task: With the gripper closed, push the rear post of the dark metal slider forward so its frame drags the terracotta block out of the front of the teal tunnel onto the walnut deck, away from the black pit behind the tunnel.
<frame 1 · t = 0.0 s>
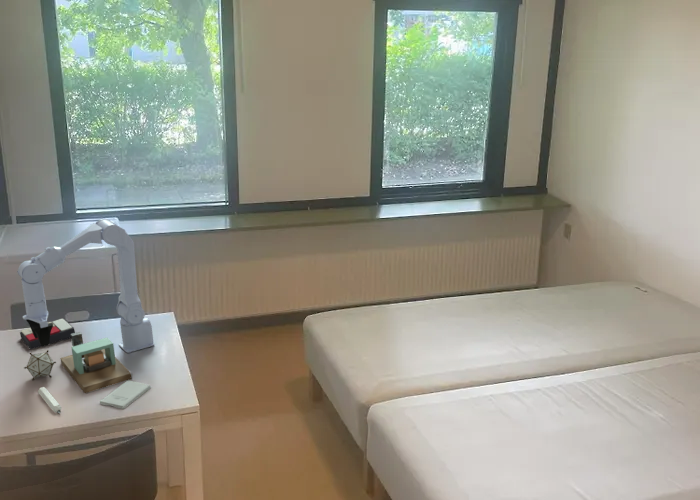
hand: (41, 341, 207), 10 cm above the table, tool pointing down, fingers open, 7 cm apart
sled: (86, 350, 214), point 4 cm above the table, slide at 0.0 cm
block: (95, 365, 209), point 2 cm above the table, touching deck
game die: (42, 377, 207), on the table
deck: (96, 371, 209), on the table
marker: (51, 405, 192), on the table
tunnel: (93, 355, 208), on the deck, point 6 cm above the table
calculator: (48, 339, 233), on the table
external hard drive: (125, 397, 196), on the table
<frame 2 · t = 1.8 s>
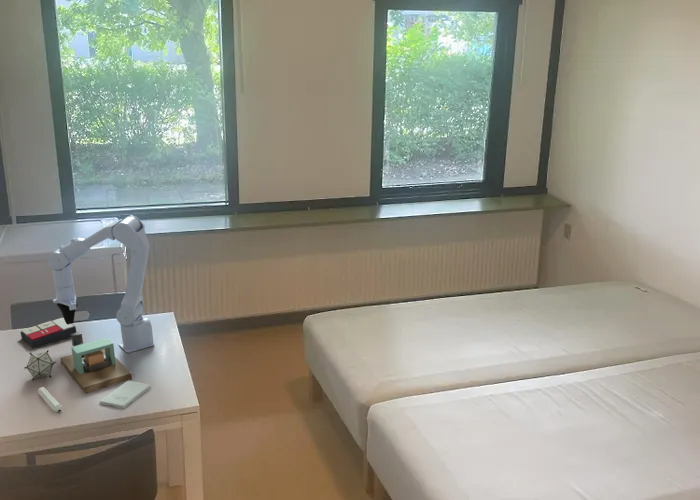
hand: (69, 323, 225), 8 cm above the table, tool pointing down, fingers closed
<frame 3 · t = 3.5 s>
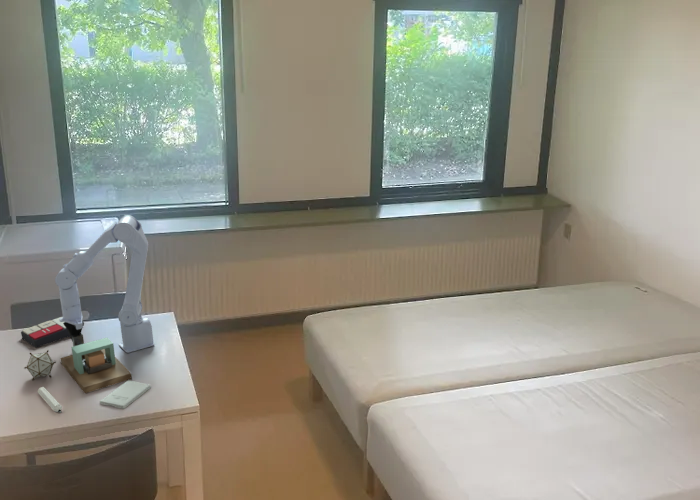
hand: (76, 342, 223), 3 cm above the table, tool pointing down, fingers closed
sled: (87, 351, 213), point 4 cm above the table, slide at 1.2 cm, touching gripper
block: (95, 366, 208), point 2 cm above the table
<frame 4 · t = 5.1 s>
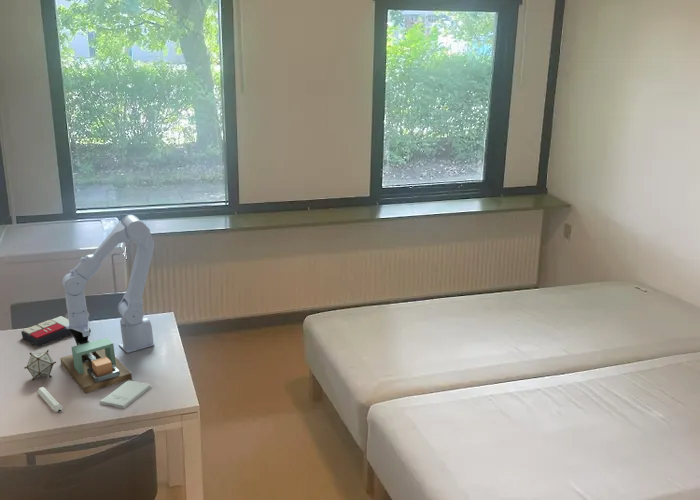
hand: (82, 349, 218), 3 cm above the table, tool pointing down, fingers closed
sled: (94, 359, 208), point 4 cm above the table, slide at 8.0 cm, touching block, gripper
block: (103, 374, 203), point 2 cm above the table, touching deck, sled
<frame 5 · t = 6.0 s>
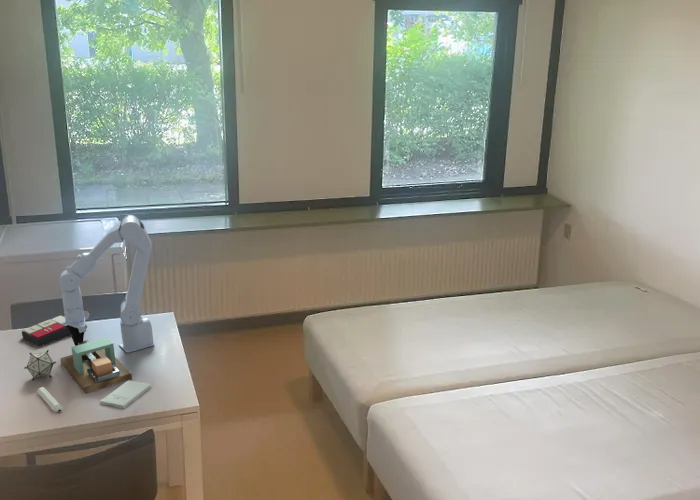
hand: (78, 345, 220), 3 cm above the table, tool pointing down, fingers closed
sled: (94, 359, 208), point 4 cm above the table, slide at 8.0 cm
block: (103, 374, 203), point 2 cm above the table, touching deck
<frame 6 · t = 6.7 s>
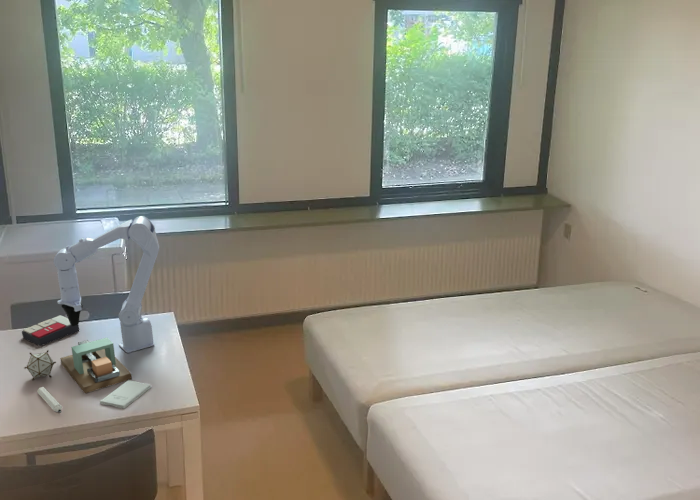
hand: (74, 324, 220), 9 cm above the table, tool pointing down, fingers closed
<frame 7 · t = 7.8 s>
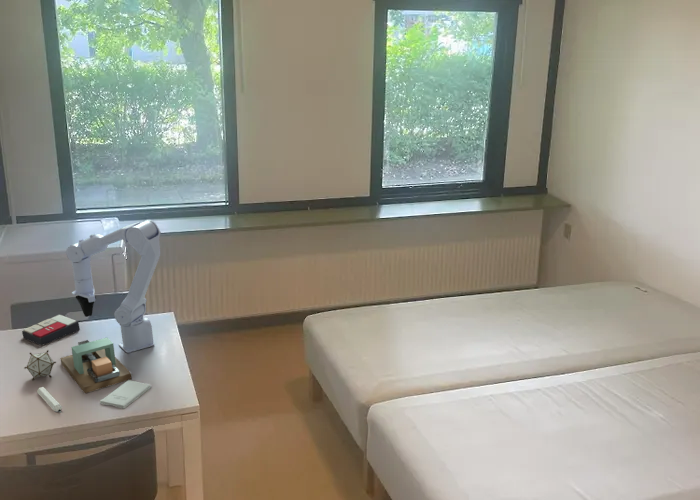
hand: (88, 315, 227), 9 cm above the table, tool pointing down, fingers closed
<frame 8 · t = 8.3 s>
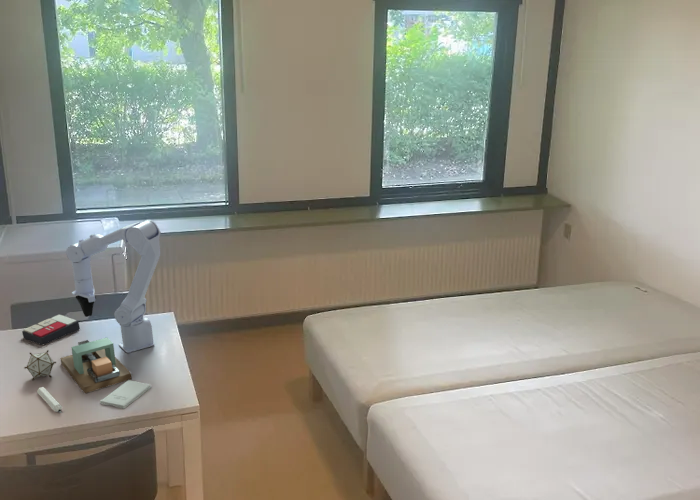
hand: (88, 315, 227), 9 cm above the table, tool pointing down, fingers closed
at the end: block 0.8 cm from the target spot on the table beside the tunnel, point 2.0 cm above the table; block tilted 0°; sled slide at 8.0 cm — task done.
